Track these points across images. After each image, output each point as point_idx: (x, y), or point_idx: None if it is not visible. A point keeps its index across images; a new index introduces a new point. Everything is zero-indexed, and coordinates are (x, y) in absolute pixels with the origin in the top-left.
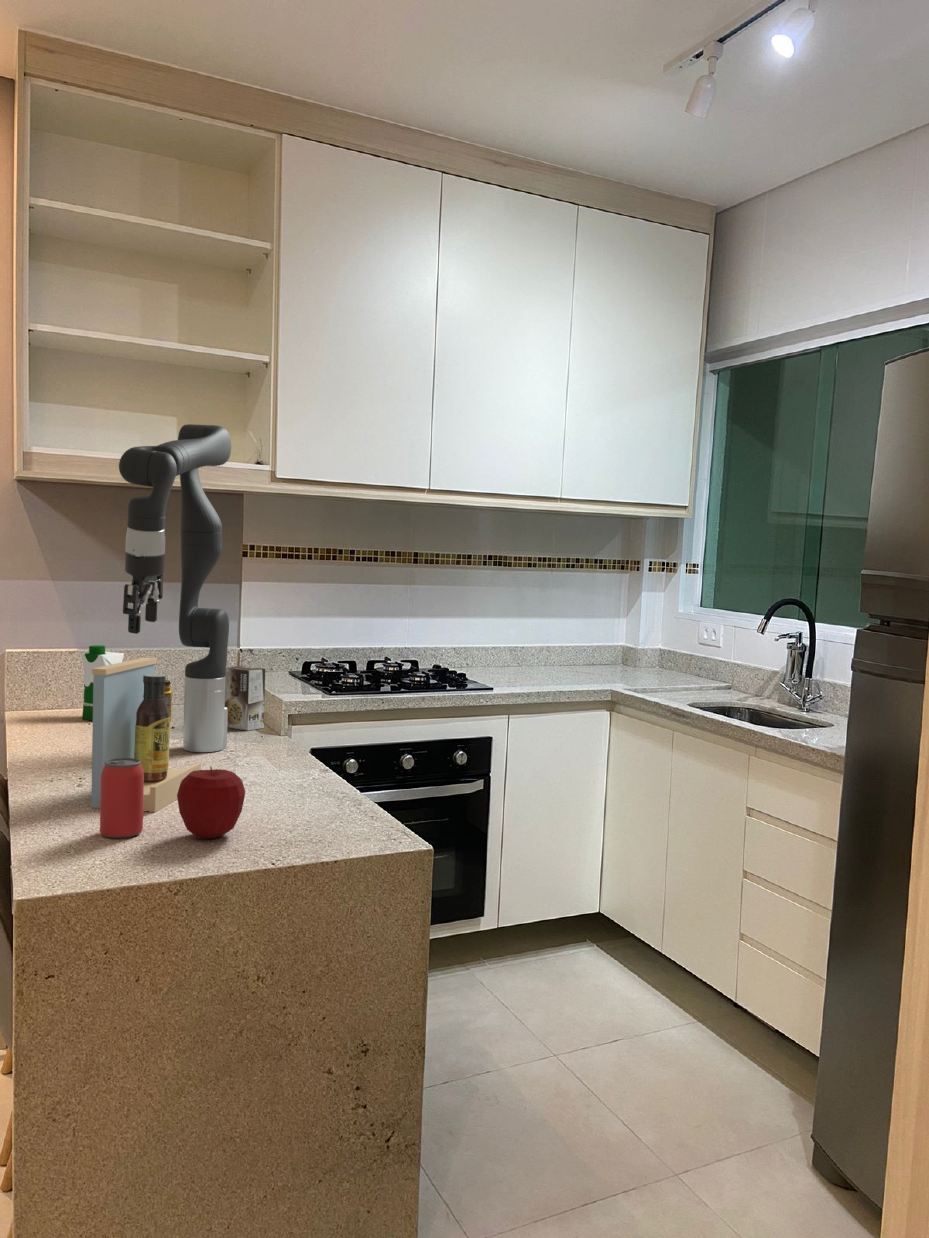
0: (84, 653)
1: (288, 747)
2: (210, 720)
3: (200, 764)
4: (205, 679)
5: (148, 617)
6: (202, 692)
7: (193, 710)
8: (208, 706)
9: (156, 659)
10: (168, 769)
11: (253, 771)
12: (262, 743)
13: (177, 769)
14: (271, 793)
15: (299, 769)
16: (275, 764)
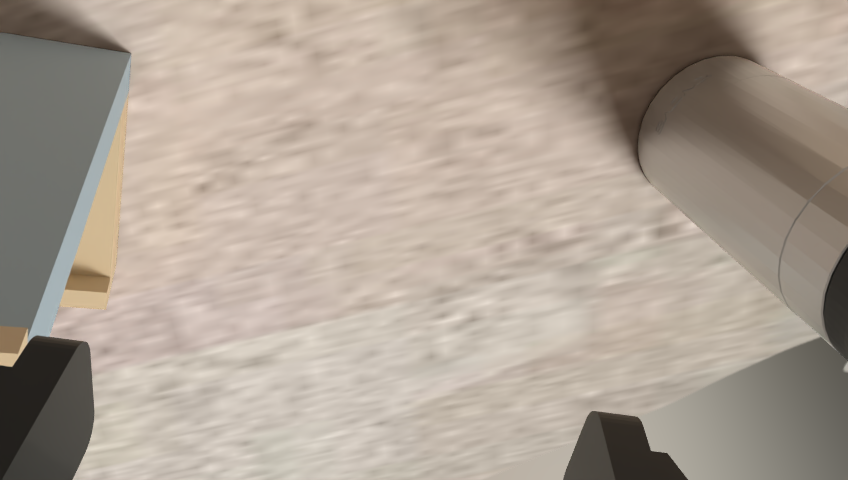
0: None
1: (705, 375)
2: (703, 223)
3: (100, 307)
4: (820, 301)
5: (589, 470)
6: (777, 254)
7: (739, 174)
8: (737, 245)
9: None
10: (101, 180)
11: (356, 362)
12: None
13: (110, 212)
14: None
15: (398, 465)
16: (461, 395)
